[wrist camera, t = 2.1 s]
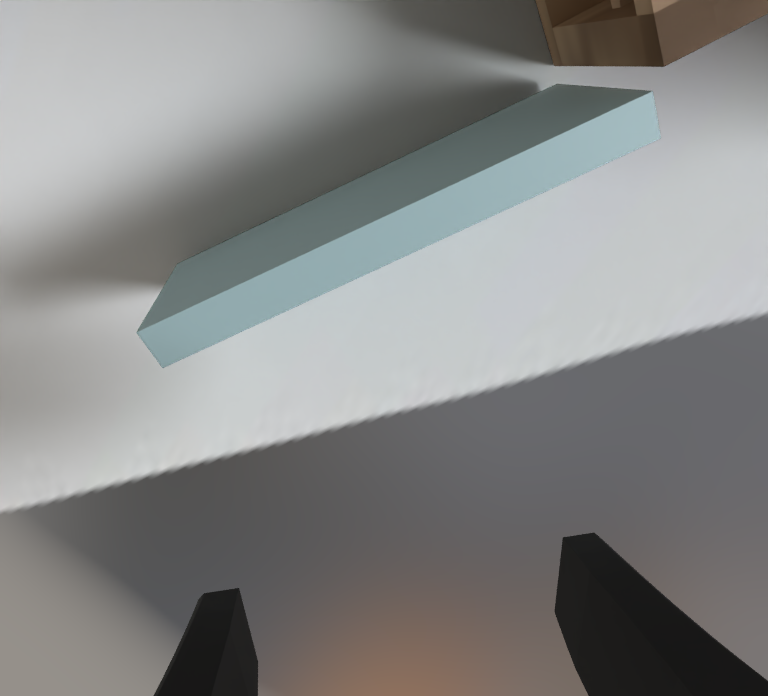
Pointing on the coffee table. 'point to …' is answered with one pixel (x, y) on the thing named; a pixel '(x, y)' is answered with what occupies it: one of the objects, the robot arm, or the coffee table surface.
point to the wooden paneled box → (638, 29)
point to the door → (395, 212)
